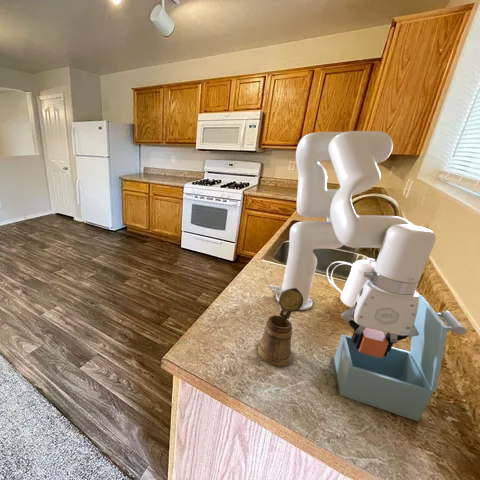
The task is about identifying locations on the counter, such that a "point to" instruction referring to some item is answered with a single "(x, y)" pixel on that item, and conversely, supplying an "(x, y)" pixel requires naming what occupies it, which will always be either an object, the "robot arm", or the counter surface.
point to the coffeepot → (354, 280)
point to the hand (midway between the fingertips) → (369, 347)
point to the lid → (432, 340)
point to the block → (373, 343)
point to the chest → (382, 379)
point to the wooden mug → (280, 330)
